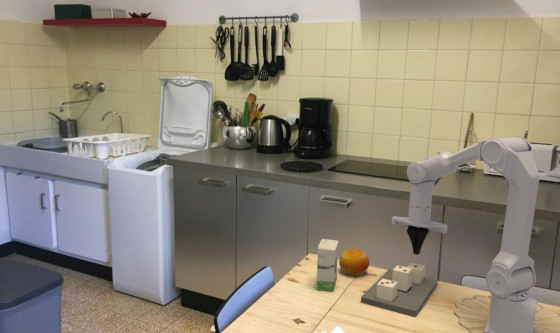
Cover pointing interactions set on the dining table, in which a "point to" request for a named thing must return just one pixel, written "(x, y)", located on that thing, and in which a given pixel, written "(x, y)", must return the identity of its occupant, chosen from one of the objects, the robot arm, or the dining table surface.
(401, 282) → the key two
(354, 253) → the fruit
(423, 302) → the keypad board
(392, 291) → the key three
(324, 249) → the ink box
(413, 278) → the key one
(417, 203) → the robot arm
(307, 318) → the dining table surface
